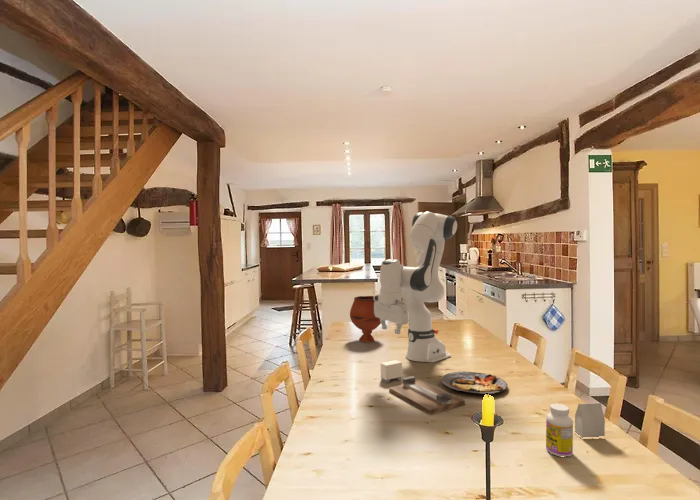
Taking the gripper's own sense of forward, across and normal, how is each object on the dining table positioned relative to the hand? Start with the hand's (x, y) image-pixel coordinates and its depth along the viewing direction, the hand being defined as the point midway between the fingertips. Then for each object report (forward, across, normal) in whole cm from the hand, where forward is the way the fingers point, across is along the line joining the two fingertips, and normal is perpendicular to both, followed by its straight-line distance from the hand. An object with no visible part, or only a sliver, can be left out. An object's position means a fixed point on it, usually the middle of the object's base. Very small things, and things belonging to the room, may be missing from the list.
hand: (390, 331), depth 173 cm
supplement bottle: (+21, -71, -7) cm, 74 cm away
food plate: (+21, -23, -24) cm, 39 cm away
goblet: (+20, +60, -25) cm, 68 cm away
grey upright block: (+21, -70, -23) cm, 77 cm away
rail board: (+20, -22, 0) cm, 30 cm away
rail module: (+20, 0, 0) cm, 21 cm away
